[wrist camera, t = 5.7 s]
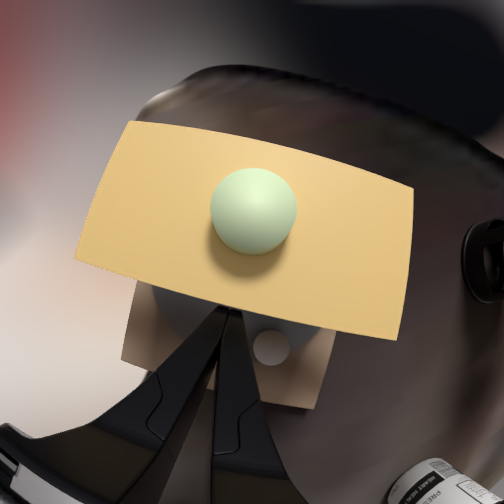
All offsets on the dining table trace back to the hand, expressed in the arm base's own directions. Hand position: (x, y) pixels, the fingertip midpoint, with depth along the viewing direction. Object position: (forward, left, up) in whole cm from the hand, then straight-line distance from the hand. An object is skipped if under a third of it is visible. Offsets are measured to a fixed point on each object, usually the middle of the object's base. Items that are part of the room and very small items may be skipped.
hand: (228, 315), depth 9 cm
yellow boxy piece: (+3, 0, -9) cm, 9 cm away
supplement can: (-22, -22, -13) cm, 33 cm away
